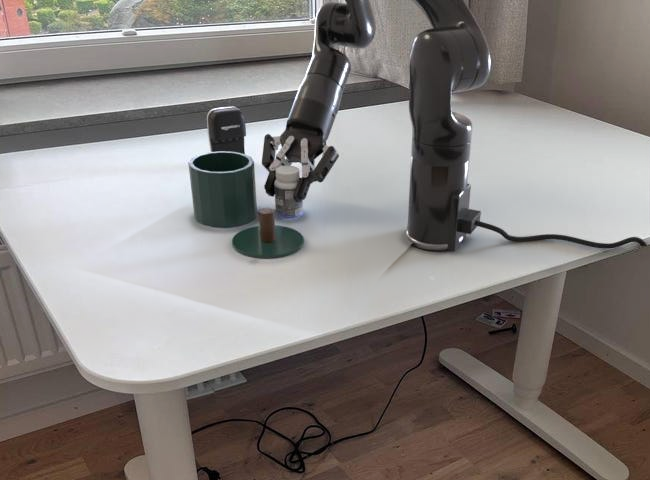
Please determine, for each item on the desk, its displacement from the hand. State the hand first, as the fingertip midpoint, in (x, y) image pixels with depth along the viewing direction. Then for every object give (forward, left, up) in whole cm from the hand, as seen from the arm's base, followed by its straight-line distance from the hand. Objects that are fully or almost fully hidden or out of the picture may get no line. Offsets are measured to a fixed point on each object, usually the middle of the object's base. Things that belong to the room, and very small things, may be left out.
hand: (283, 197), depth 132 cm
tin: (+9, +4, -4) cm, 11 cm away
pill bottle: (0, -2, -4) cm, 5 cm away
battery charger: (+22, -17, -4) cm, 28 cm away
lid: (-3, +10, -4) cm, 11 cm away
